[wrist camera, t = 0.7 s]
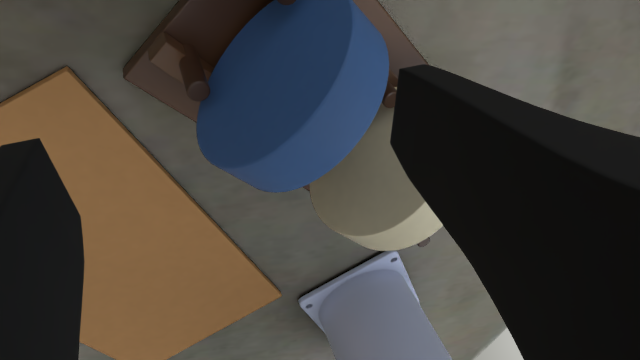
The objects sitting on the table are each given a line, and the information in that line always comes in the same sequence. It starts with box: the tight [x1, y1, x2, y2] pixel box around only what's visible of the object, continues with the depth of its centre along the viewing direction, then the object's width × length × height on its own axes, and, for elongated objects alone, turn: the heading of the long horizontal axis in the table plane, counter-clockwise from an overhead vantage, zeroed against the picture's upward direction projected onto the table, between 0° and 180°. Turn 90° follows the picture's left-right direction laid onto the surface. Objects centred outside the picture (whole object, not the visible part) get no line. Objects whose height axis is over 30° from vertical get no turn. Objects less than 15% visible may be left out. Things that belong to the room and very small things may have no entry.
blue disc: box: [197, 0, 389, 192], centre depth 16 cm, size 2×7×7 cm, turn 130°
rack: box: [123, 0, 430, 247], centre depth 22 cm, size 19×9×4 cm, turn 40°
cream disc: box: [310, 87, 443, 251], centre depth 20 cm, size 2×7×7 cm, turn 131°
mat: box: [0, 66, 282, 360], centre depth 24 cm, size 20×11×1 cm, turn 20°
